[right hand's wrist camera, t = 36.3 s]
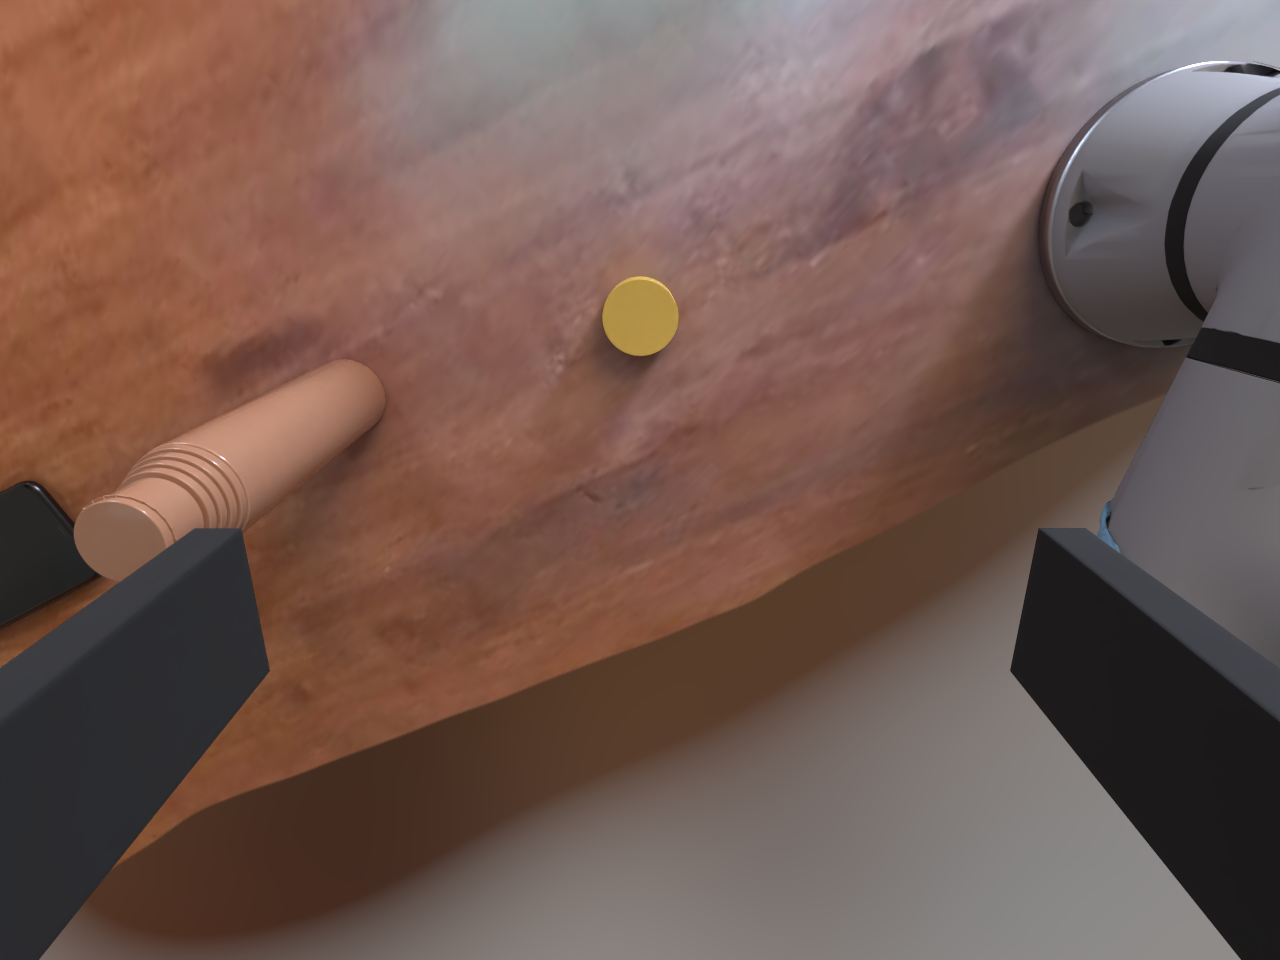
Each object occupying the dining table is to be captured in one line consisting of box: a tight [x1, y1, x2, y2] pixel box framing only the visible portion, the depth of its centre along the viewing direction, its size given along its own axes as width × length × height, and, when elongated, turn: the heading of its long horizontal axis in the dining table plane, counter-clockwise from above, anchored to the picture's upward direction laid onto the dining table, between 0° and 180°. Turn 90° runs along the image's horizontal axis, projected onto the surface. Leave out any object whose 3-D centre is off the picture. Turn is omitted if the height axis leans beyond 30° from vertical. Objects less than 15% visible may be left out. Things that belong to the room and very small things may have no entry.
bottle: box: [74, 359, 386, 583], centre depth 37 cm, size 5×5×22 cm
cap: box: [602, 276, 678, 356], centre depth 45 cm, size 4×4×2 cm
